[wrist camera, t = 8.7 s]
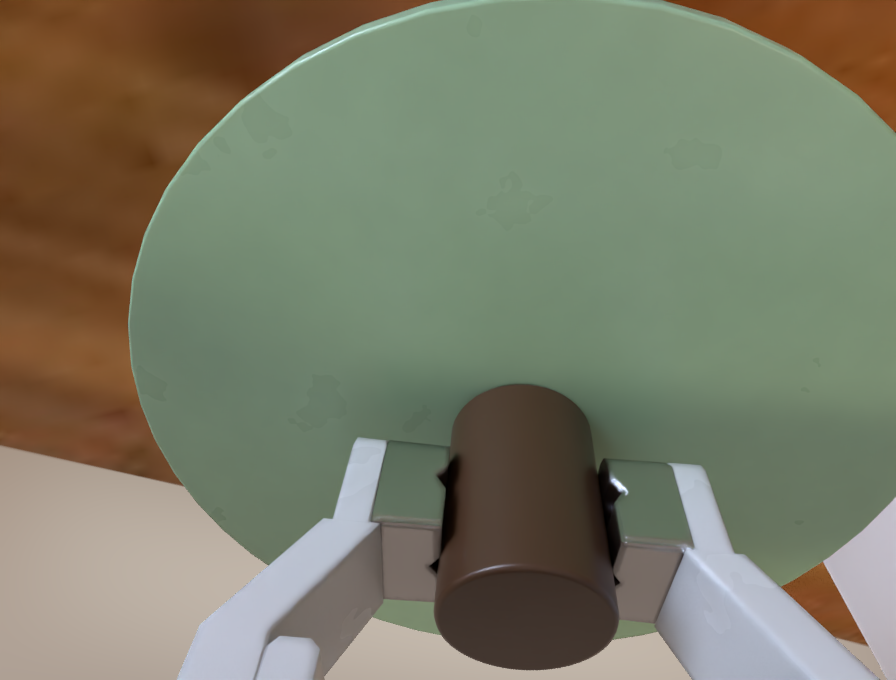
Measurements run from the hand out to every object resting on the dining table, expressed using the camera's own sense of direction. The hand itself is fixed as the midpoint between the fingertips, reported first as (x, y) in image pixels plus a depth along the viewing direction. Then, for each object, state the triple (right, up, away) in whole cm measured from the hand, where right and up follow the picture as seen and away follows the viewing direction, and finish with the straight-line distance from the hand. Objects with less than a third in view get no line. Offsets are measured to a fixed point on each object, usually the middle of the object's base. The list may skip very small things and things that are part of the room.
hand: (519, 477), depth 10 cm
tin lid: (0, +1, +1) cm, 2 cm away
